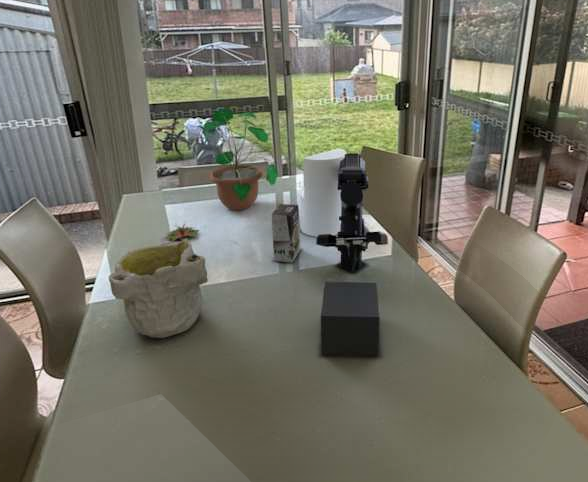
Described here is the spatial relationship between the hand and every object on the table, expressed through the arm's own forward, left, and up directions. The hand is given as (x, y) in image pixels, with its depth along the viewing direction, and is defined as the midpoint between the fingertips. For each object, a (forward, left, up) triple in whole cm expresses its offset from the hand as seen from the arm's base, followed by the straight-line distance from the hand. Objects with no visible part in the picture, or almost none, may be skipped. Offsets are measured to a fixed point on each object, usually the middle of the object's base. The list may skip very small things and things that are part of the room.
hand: (351, 272), depth 115 cm
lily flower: (+8, -70, -9) cm, 71 cm away
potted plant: (-26, -77, -9) cm, 82 cm away
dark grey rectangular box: (+12, +9, -8) cm, 17 cm away
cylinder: (-30, -37, -9) cm, 48 cm away
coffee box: (-6, -31, -9) cm, 33 cm away
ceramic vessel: (+36, -31, -9) cm, 48 cm away
